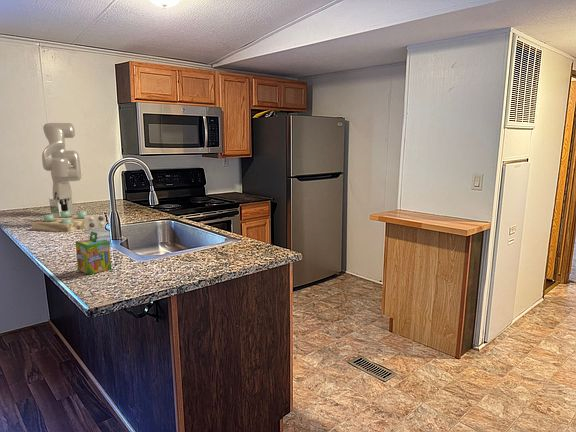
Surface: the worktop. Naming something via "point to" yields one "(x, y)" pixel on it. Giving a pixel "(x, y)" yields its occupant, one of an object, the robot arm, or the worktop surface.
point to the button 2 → (65, 214)
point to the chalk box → (93, 255)
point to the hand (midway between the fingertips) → (64, 210)
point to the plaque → (95, 221)
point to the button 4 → (81, 215)
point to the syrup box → (55, 207)
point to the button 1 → (48, 218)
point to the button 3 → (66, 221)
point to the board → (59, 224)
